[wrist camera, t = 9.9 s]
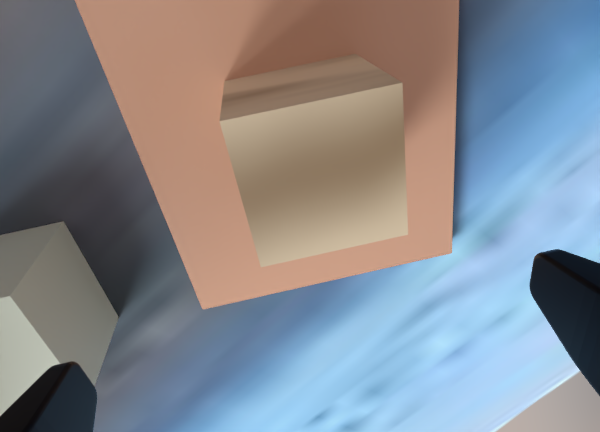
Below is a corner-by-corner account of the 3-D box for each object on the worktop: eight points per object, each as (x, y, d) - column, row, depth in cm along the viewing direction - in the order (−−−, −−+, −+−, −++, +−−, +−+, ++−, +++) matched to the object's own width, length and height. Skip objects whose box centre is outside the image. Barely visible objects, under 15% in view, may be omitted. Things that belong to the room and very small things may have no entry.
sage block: (119, 316, 21) (88, 402, 17) (42, 333, 21) (-8, 424, 17) (64, 220, 18) (9, 296, 14) (-26, 240, 18) (-109, 322, 13)
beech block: (366, 173, 18) (408, 234, 13) (254, 197, 18) (260, 267, 13) (355, 53, 15) (402, 82, 11) (224, 81, 15) (219, 121, 11)
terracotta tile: (444, 244, 21) (451, 253, 21) (203, 298, 21) (202, 309, 20) (451, -152, 13) (464, -159, 12) (53, -73, 13) (43, -76, 12)
